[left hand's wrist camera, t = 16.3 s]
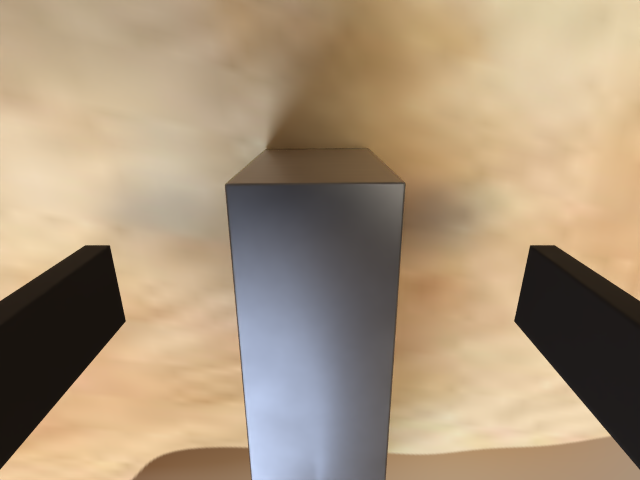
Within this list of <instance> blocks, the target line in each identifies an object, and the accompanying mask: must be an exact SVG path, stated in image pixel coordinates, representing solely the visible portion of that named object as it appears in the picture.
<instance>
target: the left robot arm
mask: <svg viewBox="0 0 640 480" xmlns="http://www.w3.org/2000/svg"><path fill="white" fill-rule="evenodd" d="M125 321H126V320H125V316H124V311H123V306H122V301H121V297H120V292H119V287H118V282H117V277H116V273H115V268H114V263H113V258H112V254H111V249H110V245H85V246H84V247H82V248H81V249H79V250H78V251H76V252H74V253H73V254H71V255H70V256H68V257H67V258H65V259H64V260H62V261H61V262H59V263H58V264H56V265H55V266H53V267H52V268H50V269H49V270H47V271H45V272H44V273H42V274H41V275H39V276H38V277H36V278H35V279H33V280H32V281H30V282H29V283H27V284H26V285H24V286H23V287H21V288H20V289H18V290H16V291H15V292H13V293H12V294H10V295H9V296H7V297H6V298H4V299H3V300H1V301H0V469H1V468H2V467H3V466H4V464H5V463H6V462H7V461H8V460H9V459H10V457H11V456H12V455H13V454H14V453H15V451H16V450H17V449H18V448H19V447H20V446H21V444H22V443H23V442H24V441H25V440H26V438H27V437H28V436H29V435H30V434H31V433H32V431H33V430H34V429H35V428H36V427H37V425H38V424H39V423H40V422H41V421H42V420H43V418H44V417H45V416H46V415H47V414H48V412H49V411H50V410H51V409H52V408H53V407H54V405H55V404H56V403H57V402H58V401H59V399H60V398H61V397H62V396H63V395H64V394H65V392H66V391H67V390H68V389H69V388H70V386H71V385H72V384H73V383H74V382H75V381H76V379H77V378H78V377H79V376H80V375H81V373H82V372H83V371H84V370H85V369H86V368H87V366H88V365H89V364H90V363H91V362H92V360H93V359H94V358H95V357H96V356H97V355H98V353H99V352H100V351H101V350H102V349H103V347H104V346H105V345H106V344H107V343H108V342H109V340H110V339H111V338H112V337H113V336H114V334H115V333H116V332H117V331H118V330H119V329H120V327H121V326H122V325H123V324H124V323H125ZM514 321H515V323H516V324H517V325H518V326H519V327H520V329H521V330H522V331H523V332H524V333H525V334H526V336H527V337H528V338H529V339H530V340H531V342H532V343H533V344H534V345H535V346H536V347H537V349H538V350H539V351H540V352H541V353H542V355H543V356H544V357H545V358H546V359H547V360H548V362H549V363H550V364H551V365H552V366H553V368H554V369H555V370H556V371H557V372H558V373H559V375H560V376H561V377H562V378H563V379H564V381H565V382H566V383H567V384H568V385H569V386H570V388H571V389H572V390H573V391H574V392H575V394H576V395H577V396H578V397H579V398H580V399H581V401H582V402H583V403H584V404H585V405H586V407H587V408H588V409H589V410H590V411H591V412H592V414H593V415H594V416H595V417H596V418H597V420H598V421H599V422H600V423H601V424H602V425H603V427H604V428H605V429H606V430H607V431H608V433H609V434H610V435H611V436H612V437H613V438H614V440H615V441H616V442H617V443H618V444H619V446H620V447H621V448H622V449H623V450H624V451H625V453H626V454H627V455H628V456H629V457H630V459H631V460H632V461H633V462H634V463H635V464H636V466H637V467H638V468H639V469H640V301H639V300H637V299H636V298H634V297H633V296H631V295H630V294H628V293H627V292H625V291H624V290H622V289H620V288H619V287H617V286H616V285H614V284H613V283H611V282H610V281H608V280H607V279H605V278H604V277H602V276H601V275H599V274H598V273H596V272H595V271H593V270H591V269H590V268H588V267H587V266H585V265H584V264H582V263H581V262H579V261H578V260H576V259H575V258H573V257H572V256H570V255H569V254H567V253H566V252H564V251H562V250H561V249H559V248H558V247H556V246H555V245H530V249H529V254H528V258H527V263H526V268H525V273H524V277H523V282H522V287H521V292H520V297H519V301H518V306H517V311H516V316H515V320H514Z"/></svg>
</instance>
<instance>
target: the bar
mask: <svg viewBox="0 0 640 480" xmlns="http://www.w3.org/2000/svg"><path fill="white" fill-rule="evenodd" d="M225 192H226V203H227V214H228V225H229V236H230V247H231V258H232V270H233V281H234V292H235V303H236V314H237V325H238V336H239V347H240V358H241V369H242V381H243V392H244V403H245V414H246V425H247V436H248V447H249V458H250V469H251V480H386V465H387V450H388V436H389V421H390V406H391V391H392V376H393V362H394V347H395V332H396V317H397V302H398V287H399V273H400V258H401V243H402V228H403V213H404V199H405V182H404V181H403V180H402V179H400V178H399V177H398V176H397V175H396V174H395V173H394V172H393V171H392V170H391V169H390V168H389V167H388V166H386V165H385V164H384V163H383V162H382V161H381V160H380V159H379V158H378V157H377V156H376V155H375V154H374V153H373V152H371V151H370V150H369V149H266V150H264V151H263V152H262V153H261V154H260V155H258V156H257V157H256V158H255V159H254V160H253V161H251V162H250V163H249V164H248V165H247V166H246V167H245V168H243V169H242V170H241V171H240V172H239V173H238V174H236V175H235V176H234V177H233V178H232V179H231V180H229V181H228V182H227V183H226V184H225Z"/></svg>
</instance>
